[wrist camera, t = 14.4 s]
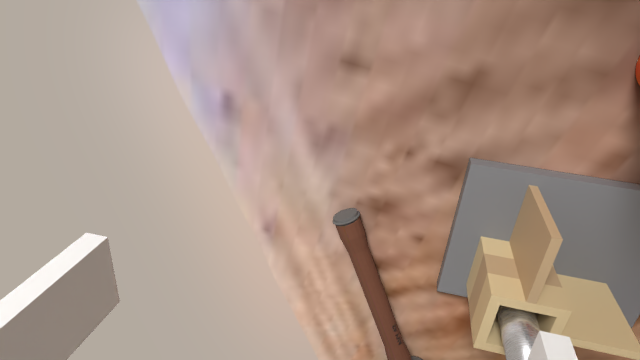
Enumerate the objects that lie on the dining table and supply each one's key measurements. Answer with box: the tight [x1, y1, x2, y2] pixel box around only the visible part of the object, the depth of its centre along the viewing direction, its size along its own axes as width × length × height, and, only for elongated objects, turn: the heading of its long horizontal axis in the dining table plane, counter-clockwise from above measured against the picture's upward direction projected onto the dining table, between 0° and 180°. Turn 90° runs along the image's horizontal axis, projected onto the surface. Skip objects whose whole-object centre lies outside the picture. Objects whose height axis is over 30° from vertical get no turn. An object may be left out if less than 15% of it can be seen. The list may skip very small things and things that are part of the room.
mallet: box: [333, 208, 422, 360], centre depth 52 cm, size 6×6×30 cm
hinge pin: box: [497, 305, 541, 360], centre depth 39 cm, size 3×3×15 cm
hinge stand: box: [437, 158, 640, 360], centre depth 40 cm, size 16×20×10 cm
